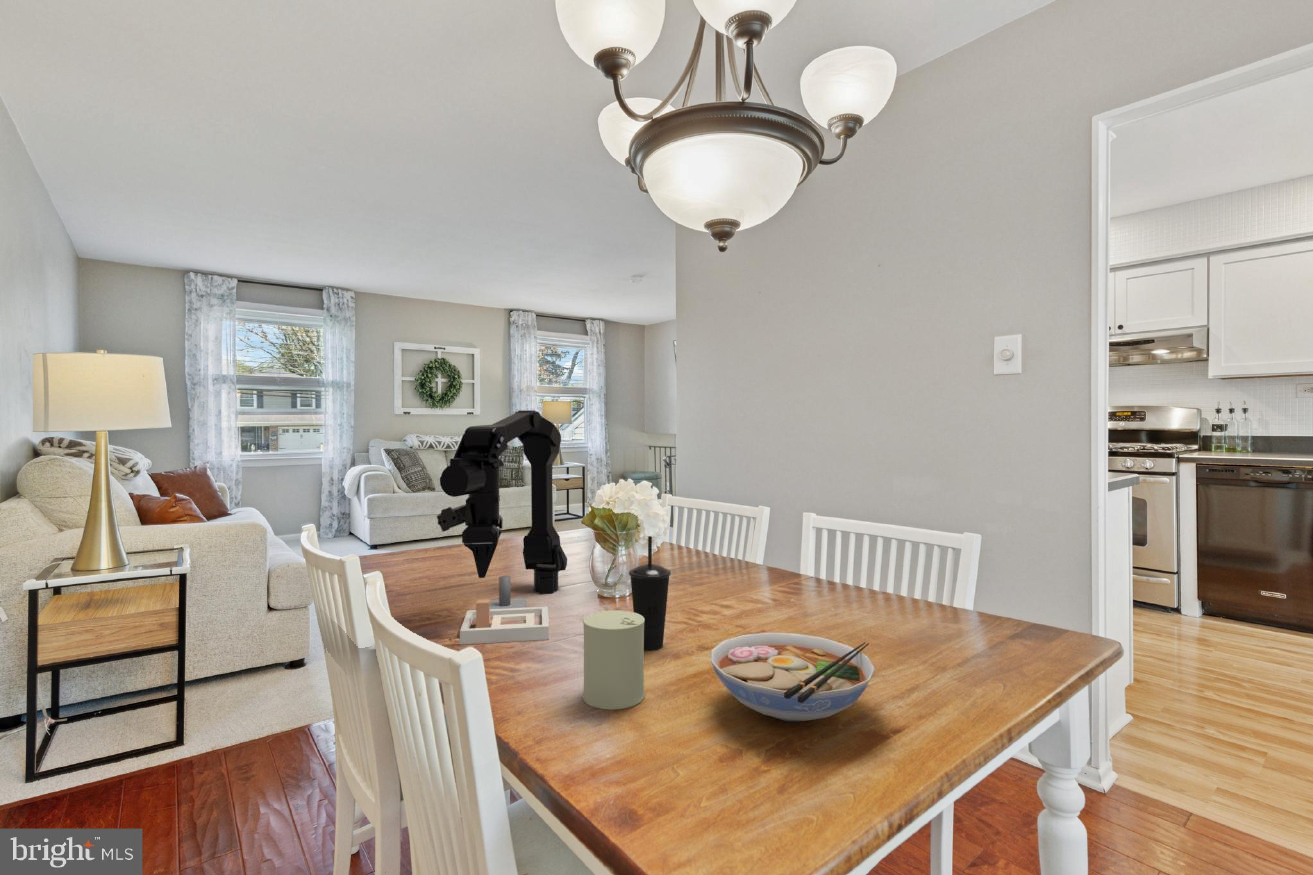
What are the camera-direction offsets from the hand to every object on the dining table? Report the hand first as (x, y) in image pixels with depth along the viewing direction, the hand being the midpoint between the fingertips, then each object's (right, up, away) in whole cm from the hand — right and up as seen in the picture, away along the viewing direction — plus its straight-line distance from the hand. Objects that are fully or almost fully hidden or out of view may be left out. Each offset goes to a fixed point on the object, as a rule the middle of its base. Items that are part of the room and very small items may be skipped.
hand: (483, 572), depth 122 cm
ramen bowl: (+52, -13, -32) cm, 63 cm away
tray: (+4, -12, +1) cm, 12 cm away
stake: (+1, -11, +15) cm, 19 cm away
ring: (+4, -11, +1) cm, 12 cm away
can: (+27, -13, -28) cm, 41 cm away
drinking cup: (+32, -12, -7) cm, 35 cm away
